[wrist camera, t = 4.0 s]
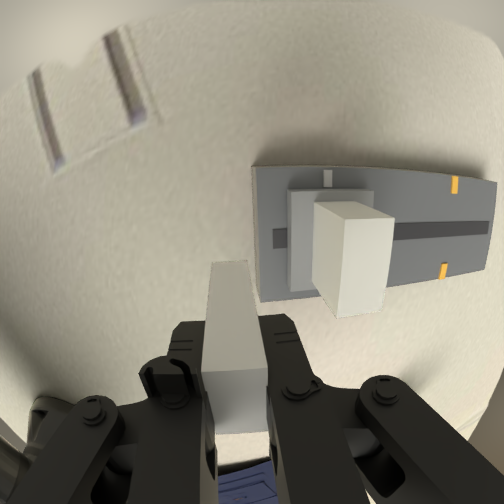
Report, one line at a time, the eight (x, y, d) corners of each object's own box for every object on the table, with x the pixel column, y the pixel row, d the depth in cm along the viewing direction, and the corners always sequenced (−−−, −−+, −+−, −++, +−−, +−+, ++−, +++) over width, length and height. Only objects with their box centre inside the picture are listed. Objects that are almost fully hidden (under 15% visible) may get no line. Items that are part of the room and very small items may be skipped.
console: (256, 285, 24) (260, 303, 21) (251, 166, 21) (256, 168, 18) (468, 260, 26) (485, 270, 23) (478, 178, 23) (498, 182, 20)
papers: (130, 476, 34) (130, 492, 31) (288, 438, 37) (295, 455, 34) (192, 512, 43) (194, 524, 39) (312, 481, 45) (317, 492, 42)
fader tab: (287, 284, 21) (310, 332, 15) (287, 189, 19) (316, 205, 13) (359, 276, 21) (399, 316, 16) (366, 188, 19) (416, 205, 13)
